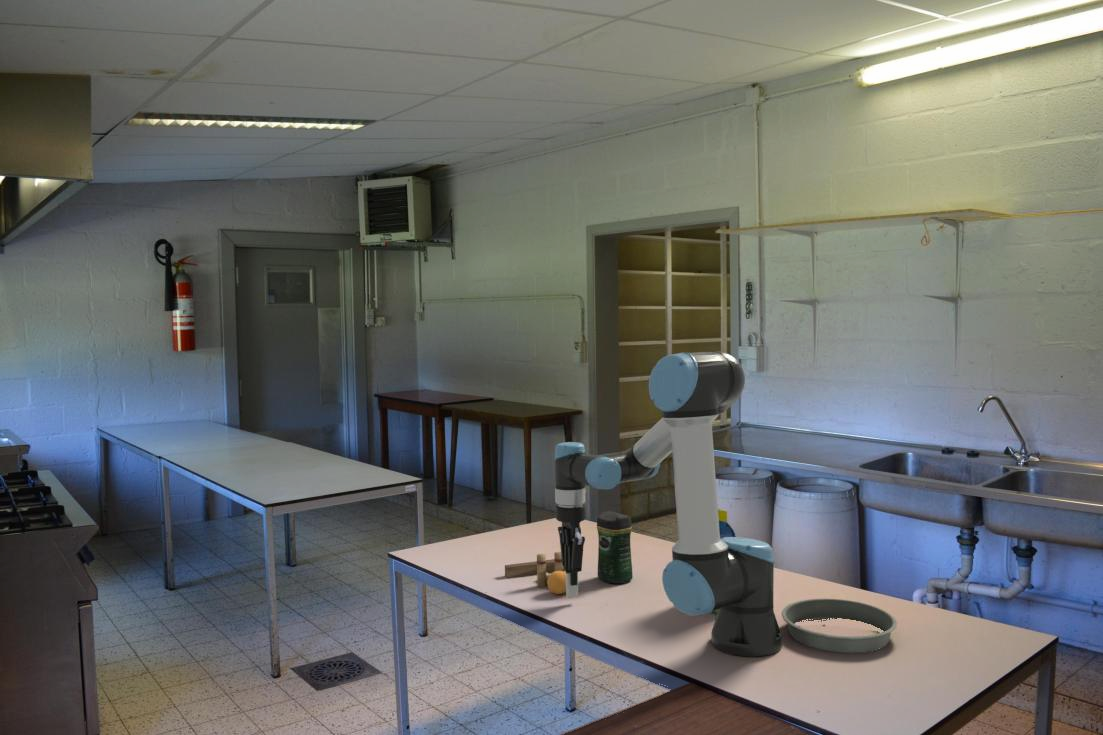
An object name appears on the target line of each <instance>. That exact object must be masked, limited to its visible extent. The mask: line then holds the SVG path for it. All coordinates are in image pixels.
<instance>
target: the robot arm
mask: <svg viewBox="0 0 1103 735" xmlns="http://www.w3.org/2000/svg"><path fill="white" fill-rule="evenodd" d="M744 372H745V371H744V368H743V367H742V365H741V363H740V362H739V360H738V359H737V358H736V357H734V356H732V354H729V353H727V352H724V351H720V350H712V351H700V352H679V353H674V354H667V355H666V356H663V357H662V358H660V359H659V360H658V361H657V362H656V364H655V366H653V368H652V370H651V372H650V376H649V380H648V393H649V397H650V400H651V401H653V405H654V406H655V407H656V408H657V409H659V410H661V413H662V417H661V419H659V421H657V422H656V423H655V424H654V425H653V426H652V427H651V428H650V429H649V430H648V431H647V432H646V433H645V434H644V435H643V436H642V437H641V438H640V439H639V440H637V442H635V443H634V444H633V445H632V446H631V447H630V448H629V449H627V450H623V451H619V452H611V453H604V454H598V455H594V454H589V453H586V450H585V445H584V444H583V442H578V441H577V442H575V441H567V442H560V443H558V444H556V445H555V446H554V447H555V448H554V459H553V462H554V484H555V487H554V500H555V504H557V505H556V506H555V519H556V520H557V522H561V526H558V527H557V531H558V536H559V544H560V546H559V547H560V552H561V558H562V565H563V566H565V571H564V572H565V573H566V592H565V597H566V598H567V599H571V598H579V572H582V570H583V569H582V568H583V557H584V547H585V546H584V545H585V542H586V536H581V535H582V529H581V524H580V523H581V522H583V521H585V520H586V518H587V517H586V516H587V514H586V512H587V510H586V509H587V508H586V507H587V506H586V504H585V503H586V494H587V491H588V490H586V486H588V487H591V488H594V489H597V490H612V489H614V488H615V487H616V486H617V485H619V484H622V483H627V482H634V481H641V480H642V481H643V480H644V481H645V480H646V479H649V478H652V477H655V476H656V474H658V473H659V468H660V467H661V463H662V462H663V461H664V460H665V459H666V458H667V457H668V456H669V455H671V454H672V465H673V479H674V481H673V482H674V495H675V508H676V521H677V522H676V523H677V536H678V537H677V538H678V540H677V541H676V542H675V543H674V544H673V545H672V547H671V552H672V556H671V557H672V560H671V561H670V562H668V563H667V564H665V568H664V569H663V571H662V576H661V577H662V578H661V579H662V586H663V590H664V592H665V595H666V596H667V599H668V601H669V602H671V604H672V605H673V607H675V609H676V610H678V611H679V612H681V613H682V614H684V615H688V616H698V615H699V616H700V615H706V614H710V613H712V612H711V611H714V610H717V609H719V610H718V613H717V614H716V616H715V620H714V623H713V627H712V629H711V644H712V645H713V647H714V648H715V649H717V650H718V651H721V652H723V653H726V654H729V655H735V656H738V657H739V656H741V657H751V658H753V657H765V656H771V655H773V654H776V653H778V652H779V651H780V650H781V649H782V647H783V637H782V636H783V635H782V632H781V630H780V627H779V624H778V620H777V617H776V614H775V611H774V589H775V588H774V580H775V579H774V576H775V575H774V572H775V571H774V570H775V569H774V566H775V565H774V564H775V560H774V552H773V551H774V550H773V548H772V547H771V545H770V544H769V543H767V542H766V541H763V540H759V539H755V538H749V537H724V538H720V533H719V519H718V508H719V507H718V505H719V504H718V494H717V492H718V491H717V480H716V479H717V478H716V466H715V465H716V464H715V453H714V449H715V448H714V437H713V426H712V425H713V423H714V421H715V420H716V419H717V418H718V417H719V415H722V414H724V412H726V411H727V410H728V409H729V408H731V406H732V405H733V404H734V403H736V402H737V400H738V399H739V398H740V396H741V395H742V393H743V391H744V389H745V384H746V379H745V378H746V376H745V373H744Z"/></svg>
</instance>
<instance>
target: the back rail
mask: <svg viewBox="0 0 1103 735" xmlns="http://www.w3.org/2000/svg"><path fill="white" fill-rule="evenodd" d="M563 568H564V572H566V571H565V566H563ZM554 571H555V561H554V559H546V572H548V573H549V574H551V573H553V572H554ZM534 575H535V576H537V560H536V561H529V562H518V563H511V564H505V565H504V576H505V578H507V579H510V578H519V577H528V576H534Z"/></svg>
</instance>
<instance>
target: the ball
mask: <svg viewBox="0 0 1103 735" xmlns="http://www.w3.org/2000/svg"><path fill="white" fill-rule="evenodd" d="M549 574H550V575H549V577H548V580H547V583H546V586H547V588H548V589H549V590H550V592H551V593H552V594H556V595H562V594H566V571H564V572H563V571H554V572H552V573H549Z"/></svg>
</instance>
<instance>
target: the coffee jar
mask: <svg viewBox="0 0 1103 735" xmlns="http://www.w3.org/2000/svg"><path fill="white" fill-rule="evenodd" d="M632 529H633V526H632V517H631V516H629V515H628V514H627V515H626V514H622V513H618V512H614V511H612V510H609V511H603V512H600V513H599V514H598V515H597V518H596V530H597V534H598V535H597V536H598V550H597V551H598V553H597V554H598V555H597V558H598V559H597V578H598V579H600V580H602V581H604V582H606V583H611V584H626V583H628V582H630V581H632V579H633V564H632V549H631V534H632Z"/></svg>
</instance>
